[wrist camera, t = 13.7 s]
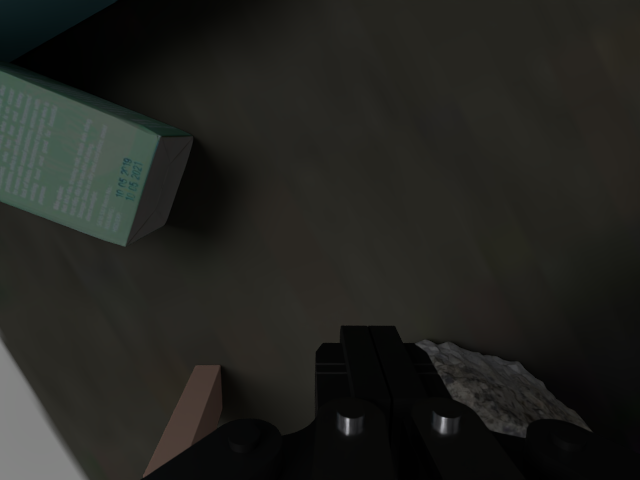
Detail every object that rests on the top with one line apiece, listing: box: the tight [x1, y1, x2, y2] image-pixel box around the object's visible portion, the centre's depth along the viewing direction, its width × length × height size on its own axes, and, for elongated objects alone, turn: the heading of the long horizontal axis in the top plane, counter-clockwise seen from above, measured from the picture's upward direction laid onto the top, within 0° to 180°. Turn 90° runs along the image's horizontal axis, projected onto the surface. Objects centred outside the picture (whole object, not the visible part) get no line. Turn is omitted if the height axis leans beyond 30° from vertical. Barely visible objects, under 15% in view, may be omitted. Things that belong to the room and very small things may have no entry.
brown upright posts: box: [143, 365, 223, 478], centre depth 26 cm, size 38×2×12 cm, turn 0°
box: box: [0, 61, 193, 246], centre depth 28 cm, size 7×14×8 cm, turn 68°
